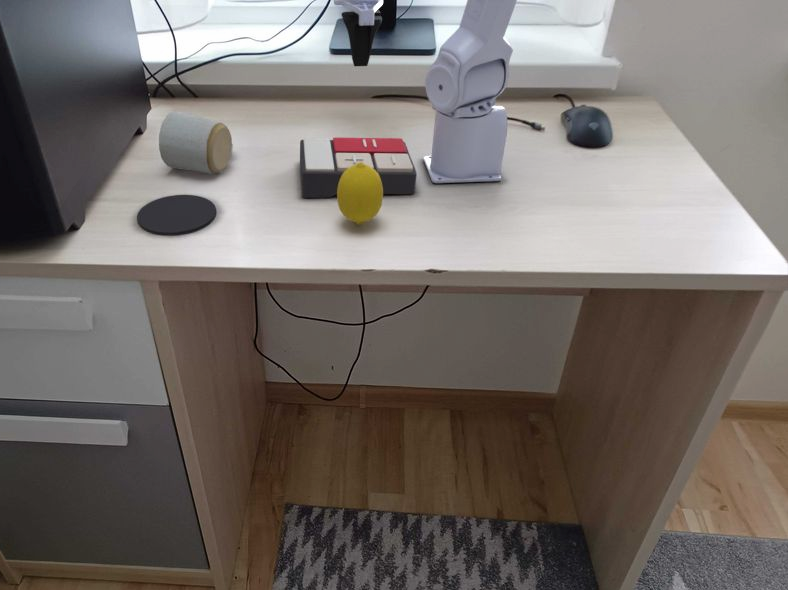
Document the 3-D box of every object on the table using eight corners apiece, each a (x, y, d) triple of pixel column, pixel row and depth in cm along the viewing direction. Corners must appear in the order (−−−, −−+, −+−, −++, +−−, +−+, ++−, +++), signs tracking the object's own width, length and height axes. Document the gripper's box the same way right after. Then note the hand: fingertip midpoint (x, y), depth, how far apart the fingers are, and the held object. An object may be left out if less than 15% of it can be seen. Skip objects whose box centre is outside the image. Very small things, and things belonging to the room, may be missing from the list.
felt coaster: (219, 195, 87) (218, 193, 87) (213, 233, 79) (213, 230, 79) (144, 198, 87) (143, 196, 86) (131, 236, 79) (130, 234, 79)
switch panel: (418, 168, 84) (302, 167, 83) (414, 199, 87) (301, 198, 86) (405, 135, 92) (300, 133, 91) (402, 164, 95) (299, 162, 94)
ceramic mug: (214, 183, 90) (207, 128, 85) (162, 175, 92) (153, 121, 87) (246, 154, 97) (242, 102, 92) (198, 147, 100) (191, 96, 95)
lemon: (368, 239, 78) (370, 177, 73) (328, 227, 80) (328, 166, 75) (389, 220, 81) (393, 159, 76) (351, 209, 84) (352, 149, 78)
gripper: (330, -46, 96) (331, 51, 105) (337, -27, 85) (337, 81, 93) (378, -48, 96) (374, 50, 105) (391, -28, 85) (386, 79, 94)
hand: (360, 64), depth 99 cm, fingers closed
